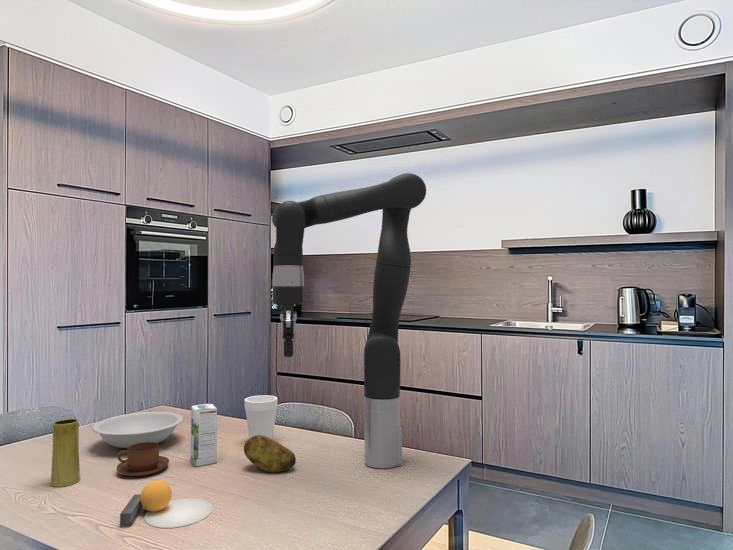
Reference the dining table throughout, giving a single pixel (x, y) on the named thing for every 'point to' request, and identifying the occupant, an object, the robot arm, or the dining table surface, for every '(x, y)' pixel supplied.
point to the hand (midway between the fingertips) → (288, 356)
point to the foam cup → (261, 415)
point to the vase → (65, 453)
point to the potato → (269, 454)
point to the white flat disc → (179, 513)
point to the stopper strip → (131, 511)
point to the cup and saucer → (142, 460)
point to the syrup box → (203, 434)
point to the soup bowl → (137, 428)
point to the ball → (155, 495)
